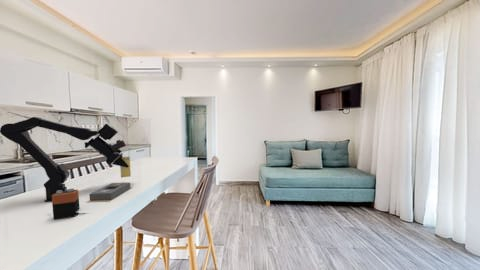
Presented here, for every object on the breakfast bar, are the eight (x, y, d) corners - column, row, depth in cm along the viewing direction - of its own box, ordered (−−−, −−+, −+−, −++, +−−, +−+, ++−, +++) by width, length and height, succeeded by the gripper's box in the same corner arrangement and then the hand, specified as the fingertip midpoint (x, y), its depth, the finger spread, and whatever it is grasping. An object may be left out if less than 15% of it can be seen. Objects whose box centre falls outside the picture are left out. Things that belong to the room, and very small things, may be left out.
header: (85, 206, 87) (84, 195, 87) (113, 190, 107) (113, 181, 107) (109, 205, 87) (108, 194, 87) (133, 190, 107) (132, 181, 107)
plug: (120, 177, 107) (119, 157, 107) (121, 176, 110) (120, 157, 110) (130, 176, 109) (129, 157, 109) (130, 175, 112) (129, 156, 112)
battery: (75, 216, 77) (74, 190, 76) (52, 220, 75) (50, 192, 74) (80, 212, 81) (78, 186, 81) (58, 215, 79) (56, 189, 78)
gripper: (113, 136, 99) (140, 156, 104) (116, 134, 115) (139, 152, 121) (94, 153, 95) (123, 174, 101) (100, 149, 112) (124, 167, 118)
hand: (128, 166), depth 110 cm, fingers closed on plug, 4 cm apart
